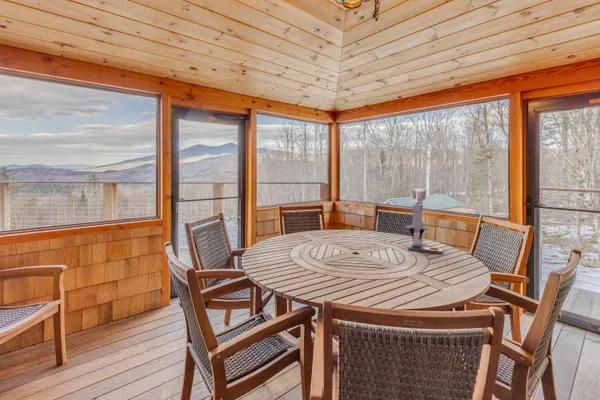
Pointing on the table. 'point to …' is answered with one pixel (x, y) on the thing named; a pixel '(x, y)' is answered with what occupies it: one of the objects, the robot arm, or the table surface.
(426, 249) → the rail
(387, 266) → the table surface
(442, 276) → the table surface
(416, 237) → the drilled metal block
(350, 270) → the table surface
